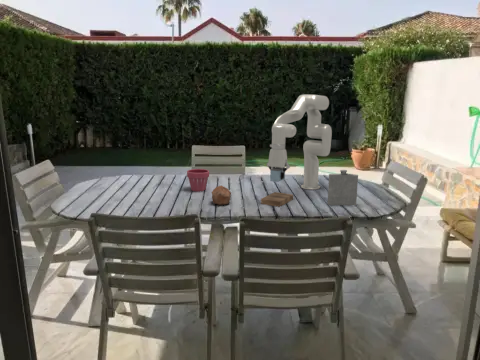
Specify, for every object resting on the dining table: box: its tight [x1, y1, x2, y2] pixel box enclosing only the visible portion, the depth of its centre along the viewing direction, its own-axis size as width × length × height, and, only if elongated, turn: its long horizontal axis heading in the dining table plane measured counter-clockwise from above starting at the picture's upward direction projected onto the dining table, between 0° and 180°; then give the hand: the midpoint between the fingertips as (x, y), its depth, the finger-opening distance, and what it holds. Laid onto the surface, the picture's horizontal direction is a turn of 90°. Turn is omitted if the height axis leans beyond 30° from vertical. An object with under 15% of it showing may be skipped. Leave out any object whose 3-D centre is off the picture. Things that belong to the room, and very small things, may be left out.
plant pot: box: [186, 168, 210, 192], centre depth 262 cm, size 14×14×13 cm
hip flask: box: [327, 169, 359, 206], centre depth 229 cm, size 16×4×20 cm, turn 83°
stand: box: [260, 191, 294, 208], centre depth 237 cm, size 18×12×3 cm, turn 149°
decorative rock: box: [211, 185, 232, 206], centre depth 232 cm, size 13×11×10 cm
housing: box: [269, 167, 286, 183], centre depth 233 cm, size 5×9×7 cm, turn 149°
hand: (277, 178), depth 234 cm, fingers closed on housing, 5 cm apart
